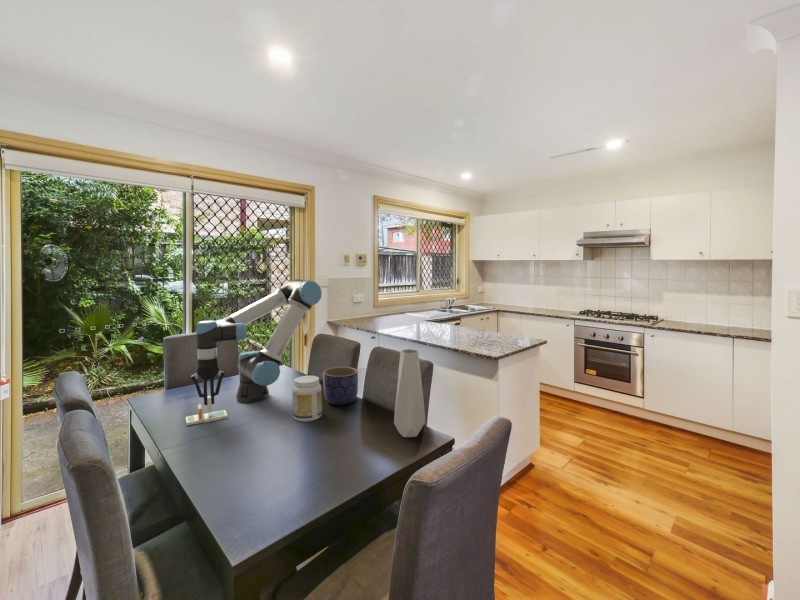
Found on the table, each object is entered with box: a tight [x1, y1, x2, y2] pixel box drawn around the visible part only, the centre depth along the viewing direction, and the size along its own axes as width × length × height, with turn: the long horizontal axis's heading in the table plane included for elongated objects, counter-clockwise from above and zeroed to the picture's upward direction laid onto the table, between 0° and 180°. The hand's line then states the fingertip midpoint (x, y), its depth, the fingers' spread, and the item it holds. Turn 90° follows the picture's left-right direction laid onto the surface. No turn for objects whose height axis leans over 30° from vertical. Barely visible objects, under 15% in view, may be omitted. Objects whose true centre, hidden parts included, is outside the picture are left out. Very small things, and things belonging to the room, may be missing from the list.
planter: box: [322, 366, 359, 406], centre depth 180 cm, size 17×17×15 cm
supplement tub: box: [291, 375, 323, 423], centre depth 162 cm, size 12×12×17 cm
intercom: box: [185, 403, 204, 426], centre depth 157 cm, size 6×7×6 cm
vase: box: [393, 348, 426, 438], centre depth 145 cm, size 12×12×33 cm
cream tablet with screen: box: [202, 409, 228, 423], centre depth 161 cm, size 9×7×1 cm
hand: (209, 411), depth 160 cm, fingers closed
